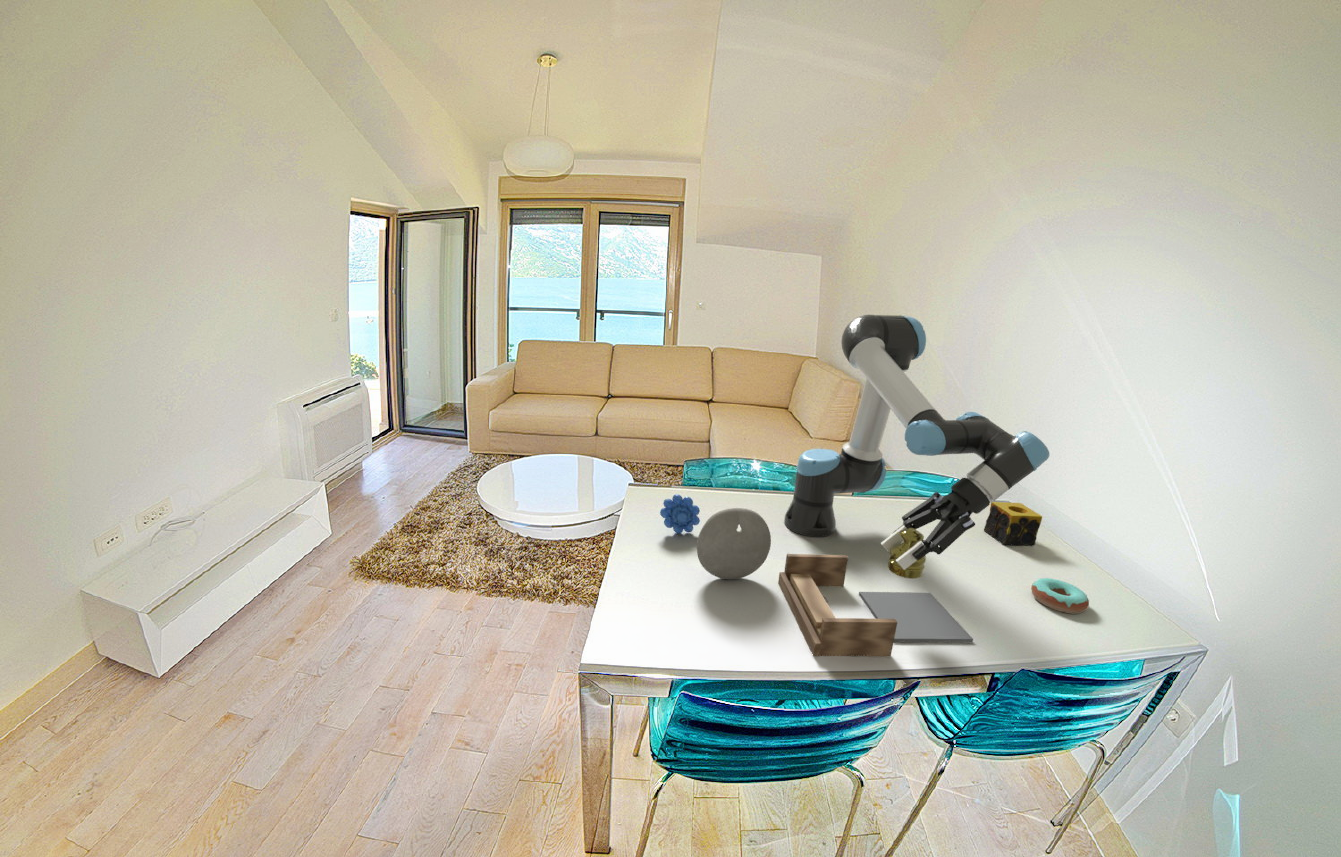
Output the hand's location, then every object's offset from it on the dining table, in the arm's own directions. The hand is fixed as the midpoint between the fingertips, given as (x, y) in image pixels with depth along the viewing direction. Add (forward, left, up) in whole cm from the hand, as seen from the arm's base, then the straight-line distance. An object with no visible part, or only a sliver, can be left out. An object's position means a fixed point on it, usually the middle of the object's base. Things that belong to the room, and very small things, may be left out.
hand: (892, 556), depth 126 cm
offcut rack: (-9, -8, -15) cm, 20 cm away
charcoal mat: (+6, +5, -15) cm, 17 cm away
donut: (+33, +37, -16) cm, 52 cm away
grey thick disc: (-34, -8, -16) cm, 39 cm away
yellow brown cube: (+19, +70, -16) cm, 74 cm away
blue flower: (-57, +3, -16) cm, 60 cm away
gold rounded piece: (+3, +2, -4) cm, 5 cm away
